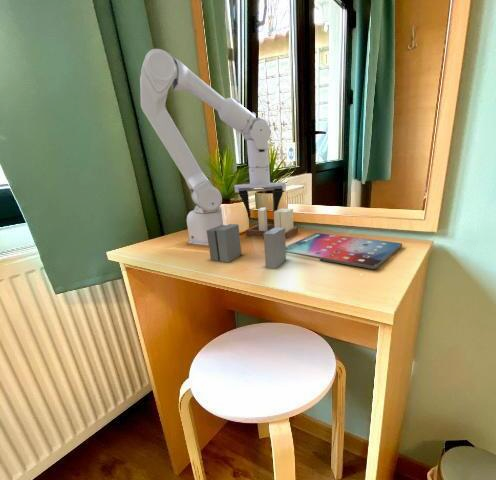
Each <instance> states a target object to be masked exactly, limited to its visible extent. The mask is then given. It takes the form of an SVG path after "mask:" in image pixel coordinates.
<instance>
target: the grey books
mask: <svg viewBox="0 0 496 480" xmlns="http://www.w3.org/2000/svg"><path fill="white" fill-rule="evenodd" d="M240 235H241V233H240V225H239V224H235V223H229V224H223V225H220V226H217V227H214V228H212V229H209V230H207V237H208V244H209V245H208V249H209V257H210V261H214V262H222V263H230V262H232V261H234V260H236V259H237V258H239V257H241V256H242V245H241V236H240ZM263 245H264V246H263V247H264V258H265V261H264V262H265V268H268V269H274V270H275V269H277V268H279V266H281V265H282V264H284V263H286V261H287V252H286V246H287V244H286V239H285V228H280V227H275V228H273V229H271V230H269V231H267V232H265V233H264V237H263Z"/></svg>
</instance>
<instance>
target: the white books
mask: <svg viewBox="0 0 496 480" xmlns="http://www.w3.org/2000/svg"><path fill="white" fill-rule="evenodd" d="M273 223H274V224H273V225H274V226H275V227H280V228H285V233H286V232H288V231H289V230H291V229H293V228H294V227H293V226H294V208H278V209H277V210H276V211H274V214H273Z"/></svg>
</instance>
